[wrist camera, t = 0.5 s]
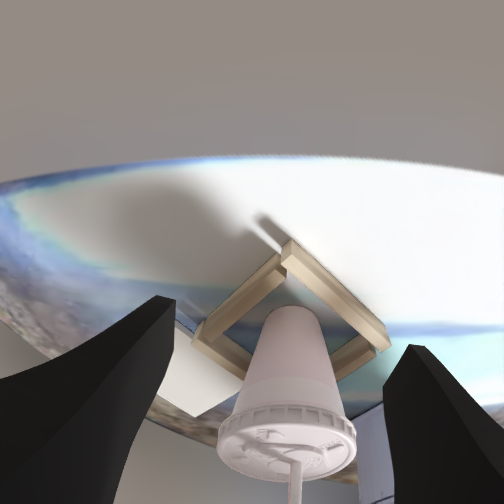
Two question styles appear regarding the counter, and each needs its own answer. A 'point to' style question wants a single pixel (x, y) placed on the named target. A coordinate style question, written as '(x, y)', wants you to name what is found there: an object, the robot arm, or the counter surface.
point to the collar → (265, 281)
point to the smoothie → (288, 408)
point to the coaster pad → (195, 377)
